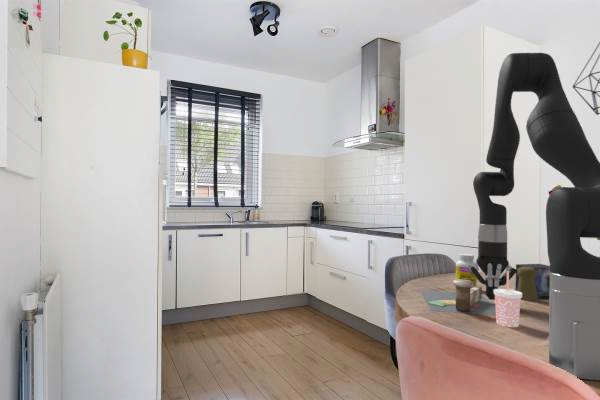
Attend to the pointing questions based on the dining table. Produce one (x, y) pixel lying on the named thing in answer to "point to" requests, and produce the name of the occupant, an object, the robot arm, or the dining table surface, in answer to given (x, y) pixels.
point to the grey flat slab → (448, 303)
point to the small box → (538, 279)
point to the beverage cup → (507, 306)
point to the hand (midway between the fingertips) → (491, 299)
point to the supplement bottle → (465, 268)
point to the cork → (527, 283)
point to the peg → (466, 294)
